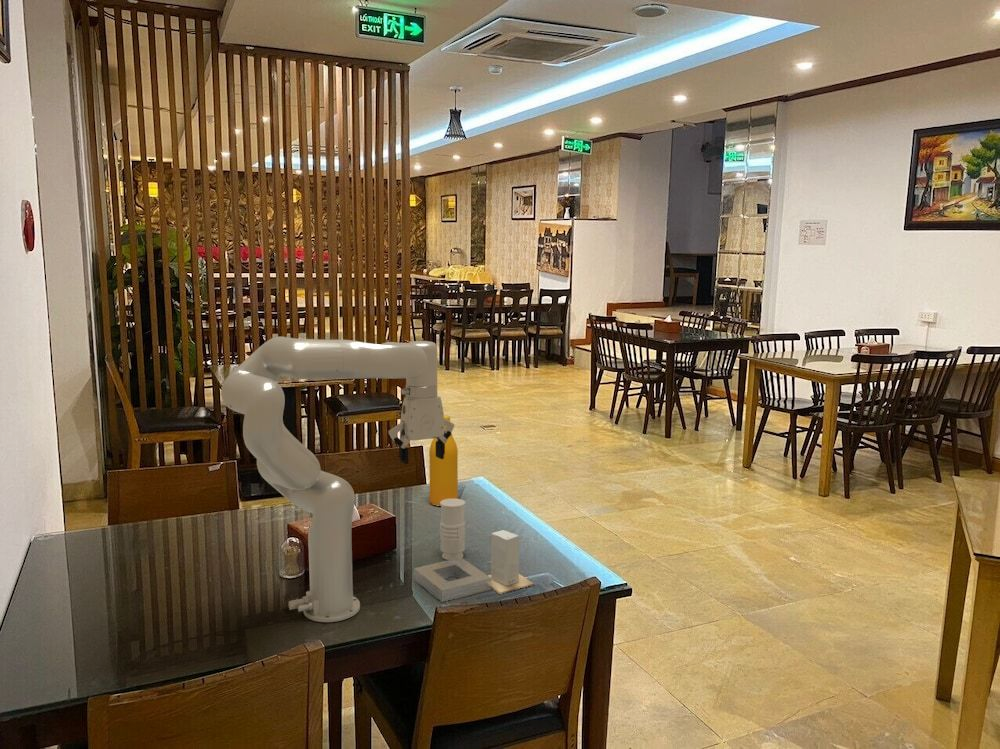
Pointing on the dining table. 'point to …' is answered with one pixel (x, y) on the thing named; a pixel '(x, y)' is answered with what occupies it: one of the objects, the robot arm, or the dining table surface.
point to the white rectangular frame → (464, 586)
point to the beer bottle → (444, 471)
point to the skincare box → (505, 557)
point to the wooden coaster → (503, 588)
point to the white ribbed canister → (452, 528)
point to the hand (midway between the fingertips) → (422, 460)
